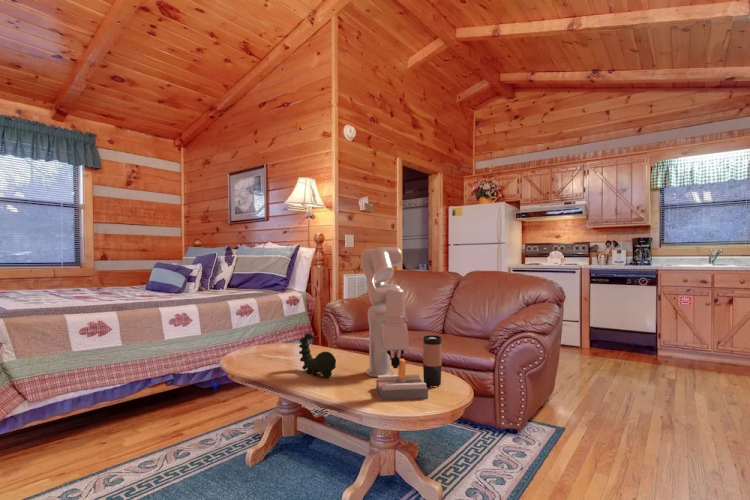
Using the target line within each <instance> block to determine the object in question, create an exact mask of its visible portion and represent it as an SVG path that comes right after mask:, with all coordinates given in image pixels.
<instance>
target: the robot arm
mask: <svg viewBox="0 0 750 500" xmlns="http://www.w3.org/2000/svg"><path fill="white" fill-rule="evenodd" d="M402 262H403V253H402V250H401V249H400V248H399V247H397V246H379V247H375V248H367V249H363V251H362V252H361V253H360V265H361V269H362V271H363V273H364V276H365V280H366V287H367V293H368V299H369V302H370V303H371V306H370V307H369V308H368V309H367V320H368V329H369V331H368V332H369V333H368V334H369V337H368V338H369V339H368V341H369V345H368V346H369V350H368V352H369V354H368V356H369V358H368V360H369V361H368V362H369V365H368V367H369V368H368V369H366V370H365V375H367V376H369V377H372V378H373V377H374V378H378V376H379V375H394V370H393V369H399V359H401V356H402V355H403V354H406V353H409V352H410V351H409V350H410V348H409V332H408V326H407V325H408V324H407V323H406V322H409V317H407V316H406V309H405V308H406V307H405V306H406V305H405V304H406V303H405V301H406V300H405V298H406V296H405V294H406V293H405V290H404V289H402V288H401V287H400V285H398V284H395V283H386V281H388V280H390V279H391V278H393V276H394V273H395V269H394V267H398V266H400V265H401V264H402ZM395 351H396V354H395ZM391 367H392V368H393V369H392V368H391Z"/></svg>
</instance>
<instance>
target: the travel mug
mask: <svg viewBox="0 0 750 500" xmlns="http://www.w3.org/2000/svg"><path fill="white" fill-rule="evenodd" d="M422 347H423V349H422V350H423V353H422V355H423V357H422V359H423V361H422V362H423V363H422V367H423V368H422V370H423V373H422V374H423V383H426V387H427V386H432V387H431V388H434V387H433V386H439V385H442V363H443V362H442V336H439V335H425V336H423V346H422ZM439 387H440V386H439Z"/></svg>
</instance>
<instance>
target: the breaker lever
mask: <svg viewBox="0 0 750 500" xmlns="http://www.w3.org/2000/svg"><path fill="white" fill-rule="evenodd" d="M406 362H407V361H406V360H405V358H399V366H398V368H397V369H398V371H397V372H398V374H397V375H398V378H397V380H398V382H399V383H405V375H406V365H407V363H406Z"/></svg>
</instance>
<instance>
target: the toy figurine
mask: <svg viewBox="0 0 750 500" xmlns="http://www.w3.org/2000/svg"><path fill="white" fill-rule="evenodd" d="M309 339H311V340H314V335H313V334H312V333H310V332H307V333H306V334H305V335H304V336H303V337H302V338H299V343H300V344H299V348H300V349H301V351H298V353H299V355H301V357H300V359H299V362H303V366H302V370H303V371H304V370H305V371H306V374H309V375H310V374H312V375H313V376H316V375H317V373H321V374H322V376H323V378H324V379H327V378H330V377H331V376H332V374H333V372H332V371H334V370H335V369H336V367H337V365H336V364H337V359H336V357H335V356H334V354H332V353H331V352H329V351H321V352H320V353H318V354H317V355H316V356H315V357H313V356H312V354H311V349H310V343H309Z"/></svg>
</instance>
